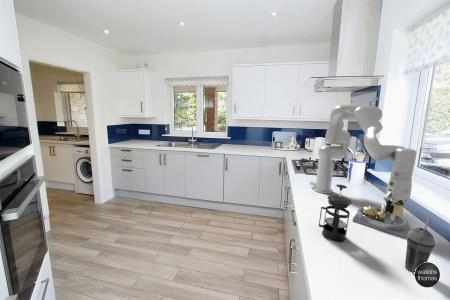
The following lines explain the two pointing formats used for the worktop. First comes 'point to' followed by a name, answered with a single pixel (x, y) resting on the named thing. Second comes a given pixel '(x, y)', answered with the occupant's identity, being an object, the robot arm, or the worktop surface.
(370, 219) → the carrier
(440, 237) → the worktop surface
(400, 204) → the gear
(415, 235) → the beverage cup
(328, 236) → the french press
